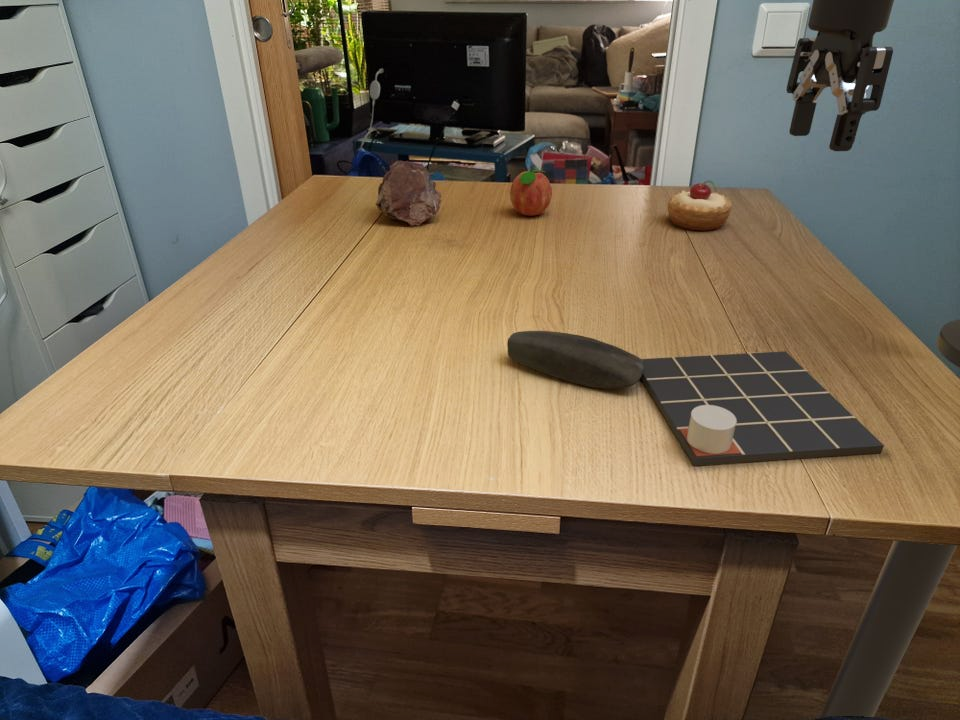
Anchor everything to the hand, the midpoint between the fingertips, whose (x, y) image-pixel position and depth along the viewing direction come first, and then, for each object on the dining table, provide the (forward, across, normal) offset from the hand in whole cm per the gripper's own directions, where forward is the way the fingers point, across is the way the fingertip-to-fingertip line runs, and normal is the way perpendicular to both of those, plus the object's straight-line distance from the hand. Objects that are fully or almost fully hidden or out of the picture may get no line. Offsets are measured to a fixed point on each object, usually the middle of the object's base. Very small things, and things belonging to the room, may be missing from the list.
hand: (818, 142), depth 76 cm
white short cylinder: (+25, -22, +18) cm, 37 cm away
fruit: (+26, +60, +22) cm, 69 cm away
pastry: (+26, +50, -10) cm, 57 cm away
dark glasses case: (+26, -5, +28) cm, 39 cm away
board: (+26, -14, +10) cm, 31 cm away
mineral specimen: (+26, +61, +47) cm, 81 cm away
